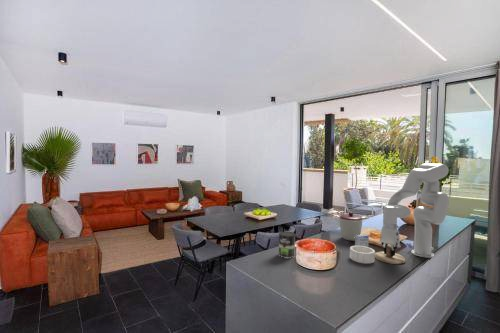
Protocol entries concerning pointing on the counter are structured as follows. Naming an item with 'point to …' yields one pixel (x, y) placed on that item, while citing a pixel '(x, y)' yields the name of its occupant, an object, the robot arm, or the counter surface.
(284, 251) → the coffee can
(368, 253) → the cream bowl
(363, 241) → the medicine box
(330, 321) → the counter surface
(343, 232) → the canister
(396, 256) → the oak lid
